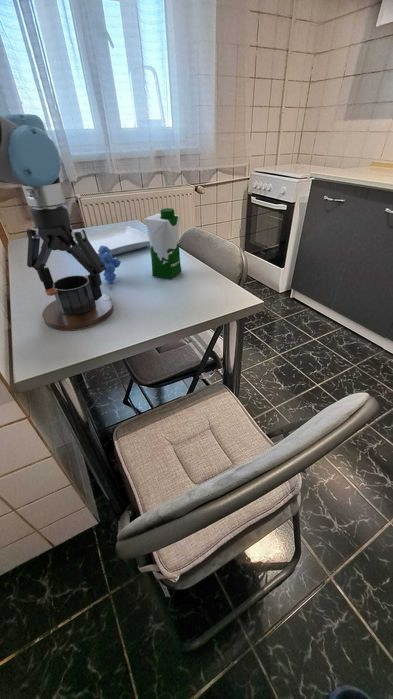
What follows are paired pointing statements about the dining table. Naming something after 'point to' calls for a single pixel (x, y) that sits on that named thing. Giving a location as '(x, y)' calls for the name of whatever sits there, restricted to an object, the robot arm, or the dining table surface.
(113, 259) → the grapes
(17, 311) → the dining table surface
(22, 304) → the dining table surface
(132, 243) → the square plate
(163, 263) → the milk carton
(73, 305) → the cooking pot
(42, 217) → the robot arm
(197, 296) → the dining table surface
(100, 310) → the turntable
